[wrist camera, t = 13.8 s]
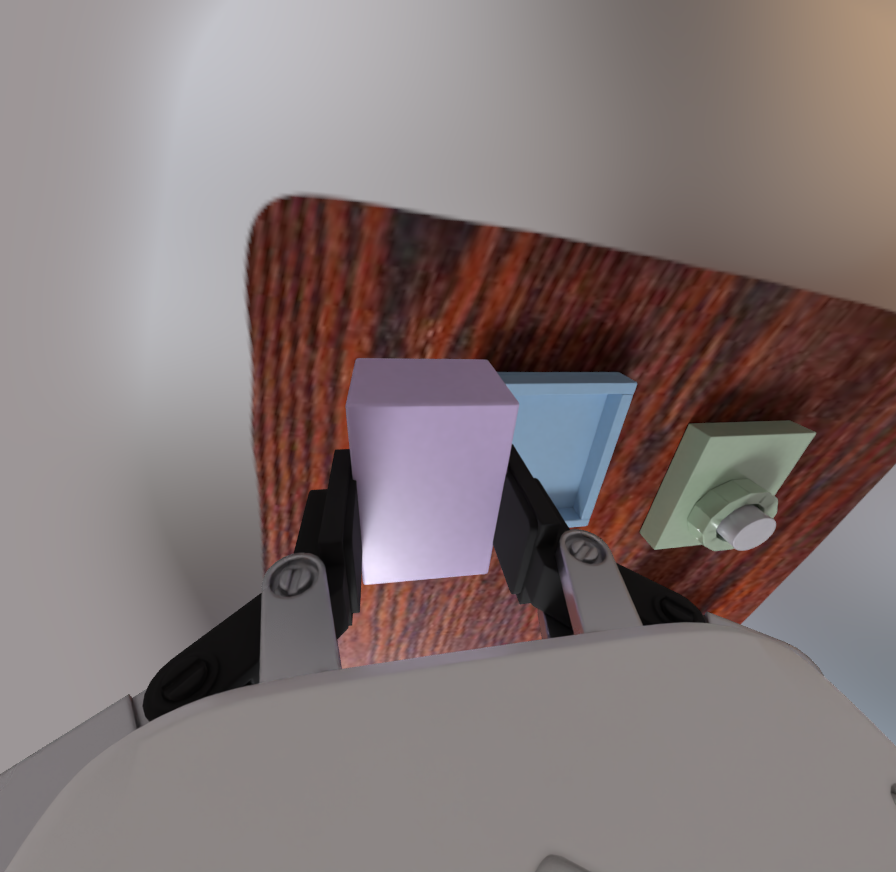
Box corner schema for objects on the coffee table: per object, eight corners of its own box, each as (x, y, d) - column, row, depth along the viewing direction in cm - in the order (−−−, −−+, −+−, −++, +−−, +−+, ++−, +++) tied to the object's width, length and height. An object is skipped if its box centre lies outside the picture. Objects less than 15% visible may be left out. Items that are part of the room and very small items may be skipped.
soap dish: (471, 371, 22) (479, 383, 21) (618, 371, 24) (638, 382, 23) (457, 518, 29) (462, 537, 27) (575, 509, 31) (587, 526, 29)
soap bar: (355, 357, 11) (344, 404, 8) (488, 358, 12) (521, 402, 9) (367, 514, 15) (362, 586, 12) (469, 508, 16) (488, 574, 13)
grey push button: (727, 504, 28) (747, 519, 27) (764, 501, 29) (785, 516, 27) (708, 536, 30) (725, 552, 29) (743, 533, 31) (761, 548, 29)
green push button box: (688, 423, 28) (731, 449, 24) (789, 419, 30) (842, 444, 26) (639, 532, 34) (668, 566, 30) (725, 524, 36) (762, 555, 32)
